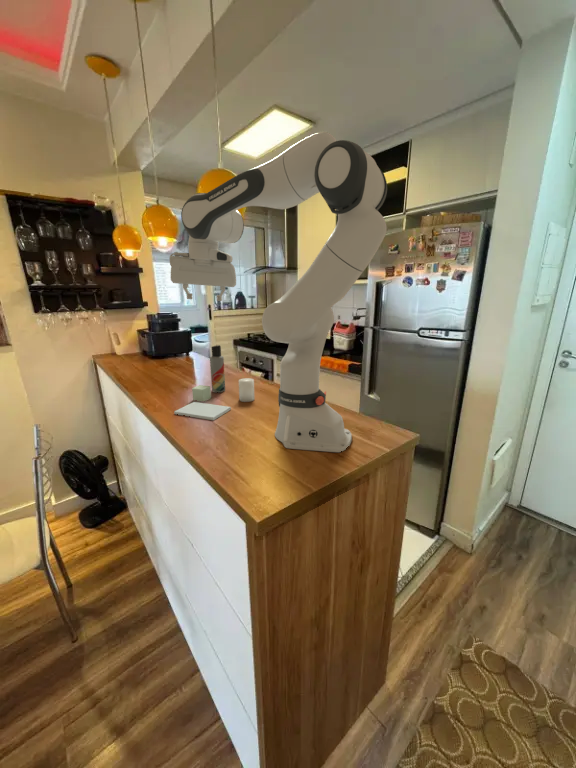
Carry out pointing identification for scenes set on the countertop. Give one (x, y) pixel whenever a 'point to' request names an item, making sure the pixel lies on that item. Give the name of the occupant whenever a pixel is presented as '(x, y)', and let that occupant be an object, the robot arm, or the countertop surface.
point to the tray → (203, 410)
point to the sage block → (201, 393)
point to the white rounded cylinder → (246, 390)
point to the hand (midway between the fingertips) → (204, 300)
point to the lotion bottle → (217, 370)
